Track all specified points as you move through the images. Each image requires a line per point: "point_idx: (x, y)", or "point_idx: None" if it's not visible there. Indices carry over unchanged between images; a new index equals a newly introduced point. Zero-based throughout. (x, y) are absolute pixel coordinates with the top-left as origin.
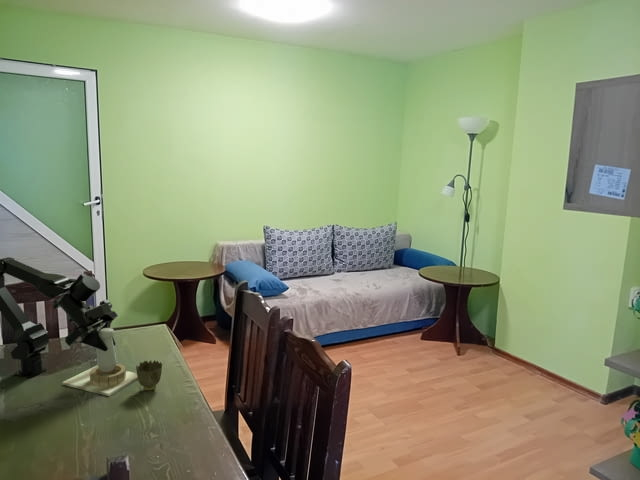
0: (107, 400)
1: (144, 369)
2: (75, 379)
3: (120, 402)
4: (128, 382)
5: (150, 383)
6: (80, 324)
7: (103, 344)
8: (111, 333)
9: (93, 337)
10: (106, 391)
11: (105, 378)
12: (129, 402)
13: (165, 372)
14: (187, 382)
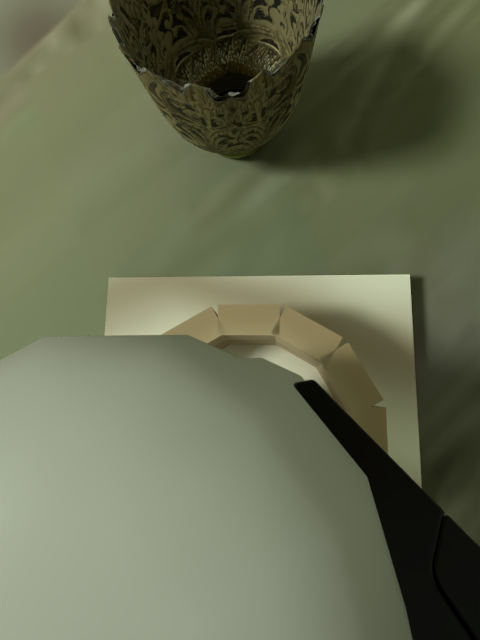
0: (447, 250)
1: (185, 118)
2: None
3: (429, 169)
4: (233, 276)
5: (280, 36)
6: None
7: (362, 439)
8: (147, 336)
9: None
10: (394, 310)
11: (356, 359)
12: (405, 127)
13: (18, 198)
14: (89, 21)
